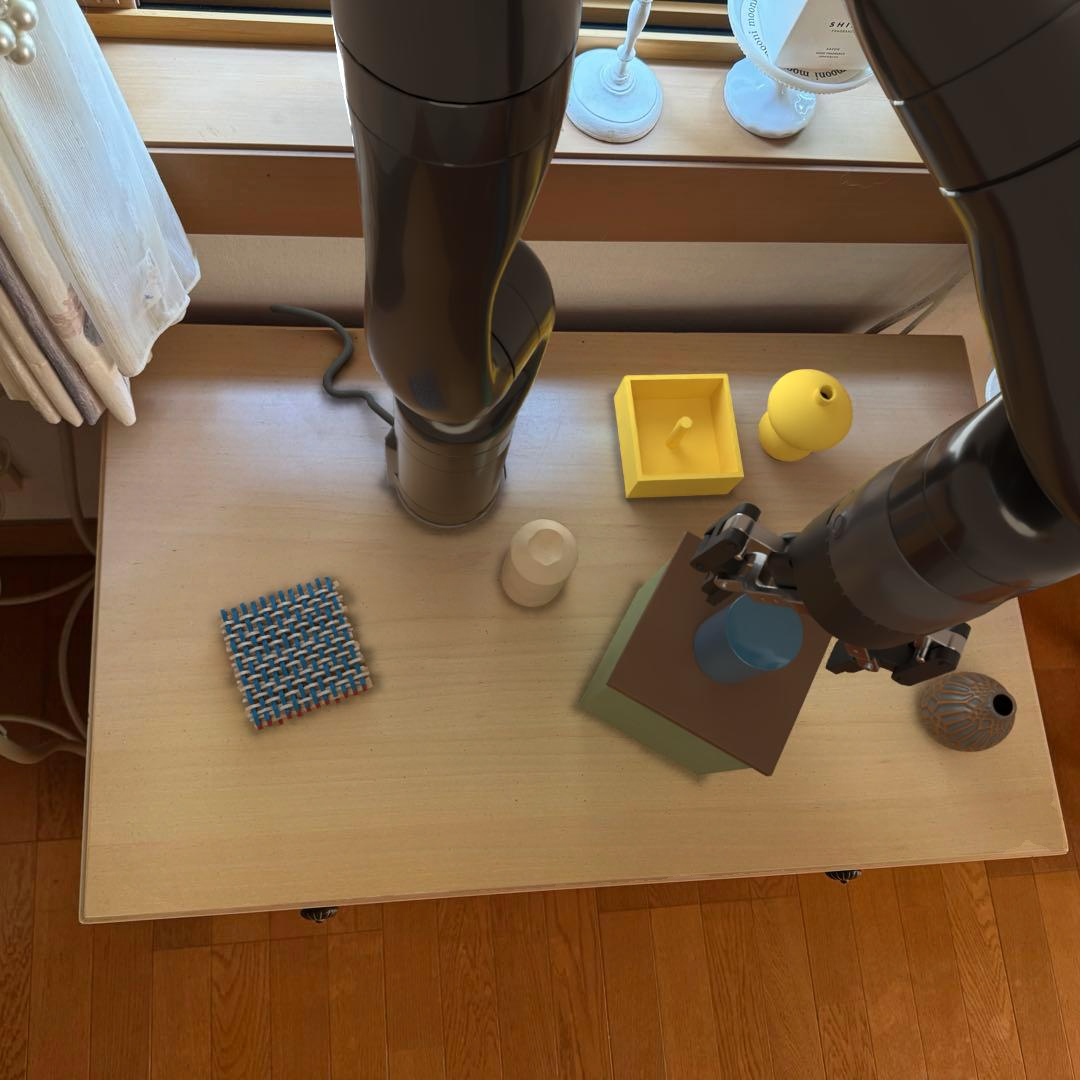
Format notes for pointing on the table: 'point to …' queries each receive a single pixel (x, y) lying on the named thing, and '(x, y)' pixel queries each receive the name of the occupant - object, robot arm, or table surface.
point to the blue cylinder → (747, 641)
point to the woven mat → (293, 653)
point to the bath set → (718, 429)
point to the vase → (968, 711)
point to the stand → (696, 680)
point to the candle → (538, 562)
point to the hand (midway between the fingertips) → (774, 623)
